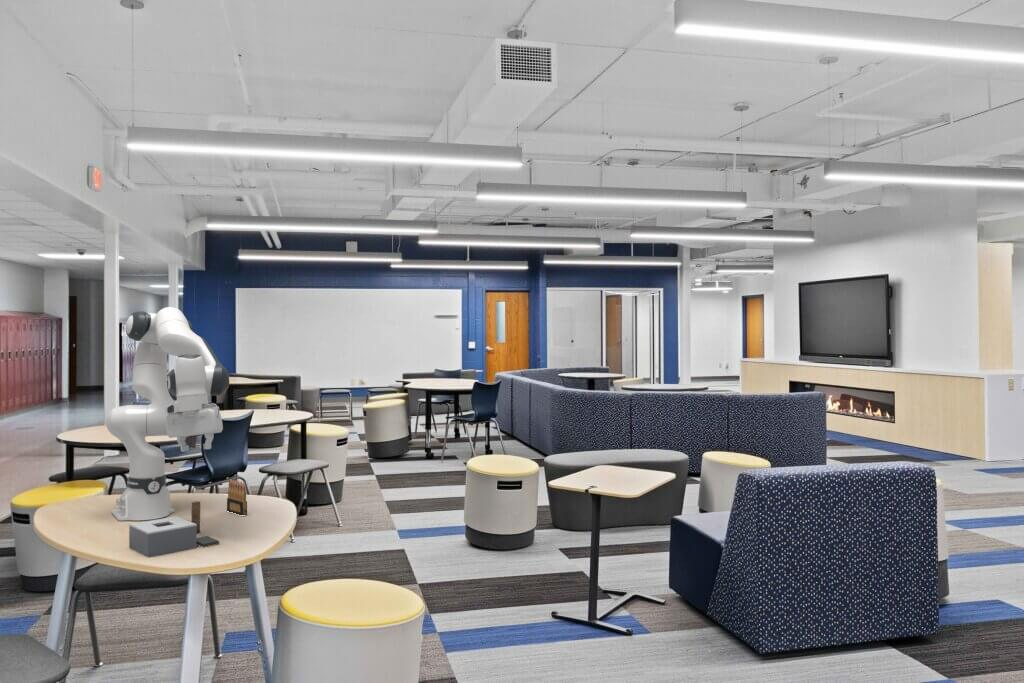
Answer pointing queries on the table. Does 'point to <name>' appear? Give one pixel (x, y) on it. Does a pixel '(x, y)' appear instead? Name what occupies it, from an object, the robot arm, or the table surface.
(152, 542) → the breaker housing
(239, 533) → the table surface
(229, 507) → the ammunition clip
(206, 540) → the rubber pad
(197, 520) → the brown rounded rod
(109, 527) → the table surface
